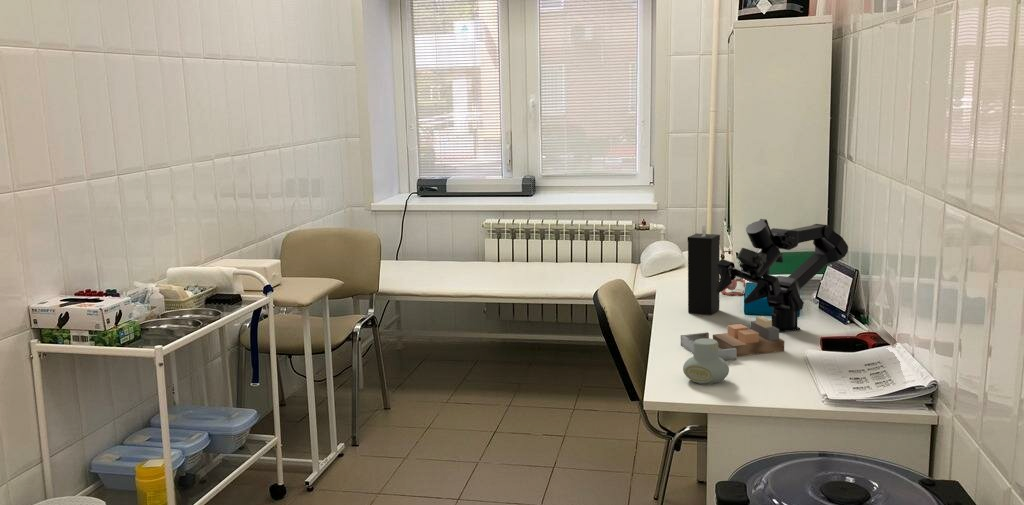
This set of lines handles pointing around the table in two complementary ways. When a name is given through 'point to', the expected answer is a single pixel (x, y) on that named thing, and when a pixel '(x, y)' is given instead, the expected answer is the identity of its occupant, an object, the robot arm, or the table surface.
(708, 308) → the tall black pillar
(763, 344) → the board
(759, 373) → the table surface
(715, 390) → the table surface
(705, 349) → the air freshener
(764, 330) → the grey and beige block
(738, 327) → the tile
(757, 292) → the robot arm
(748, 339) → the tile
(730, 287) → the pink ball with cord
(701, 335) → the tray
